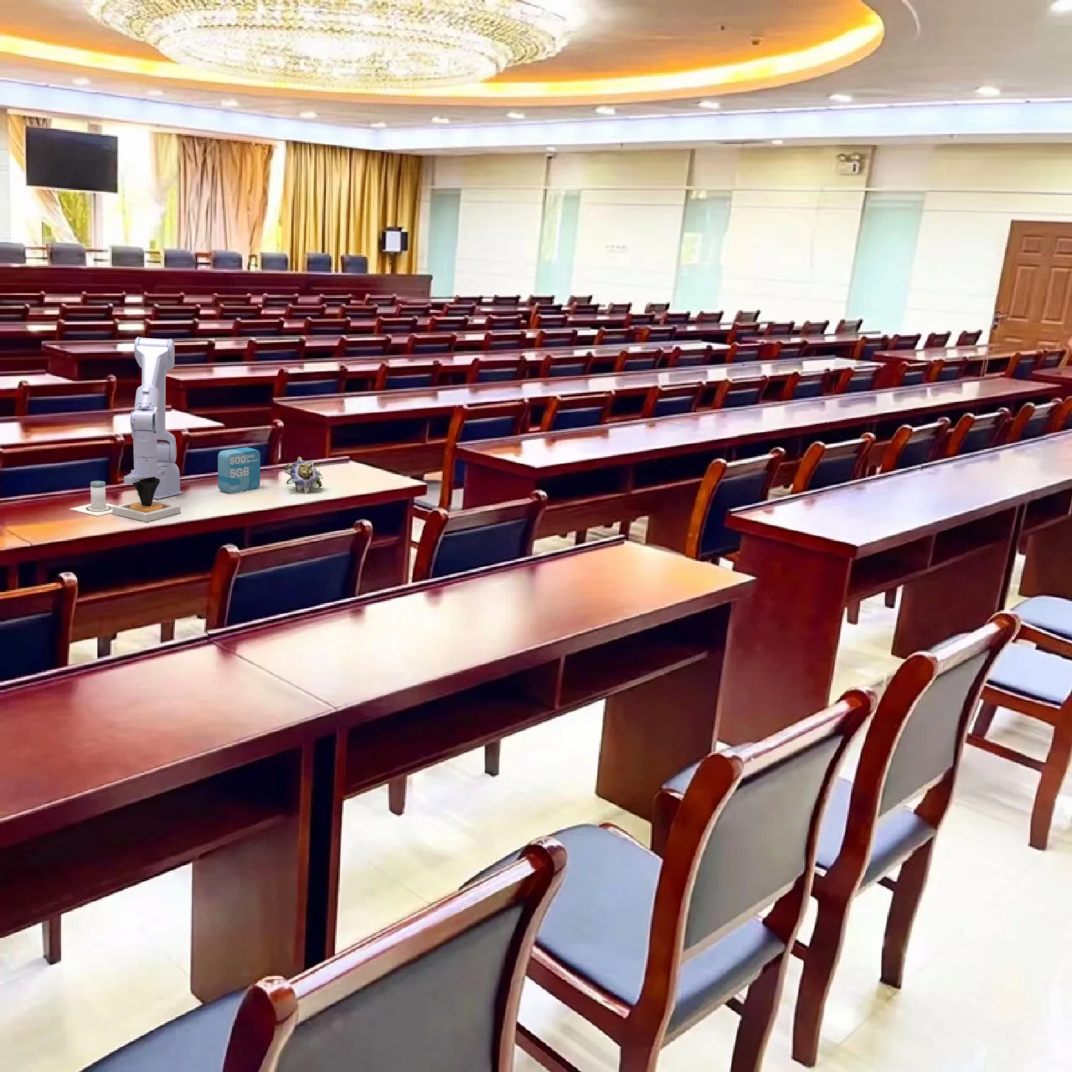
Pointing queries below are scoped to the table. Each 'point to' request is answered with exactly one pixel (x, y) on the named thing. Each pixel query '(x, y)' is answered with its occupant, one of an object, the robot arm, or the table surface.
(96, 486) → the white cylindrical piece
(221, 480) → the data package
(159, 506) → the button
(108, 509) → the paper sheet
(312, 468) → the passion flower
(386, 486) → the table surface
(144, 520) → the button box
